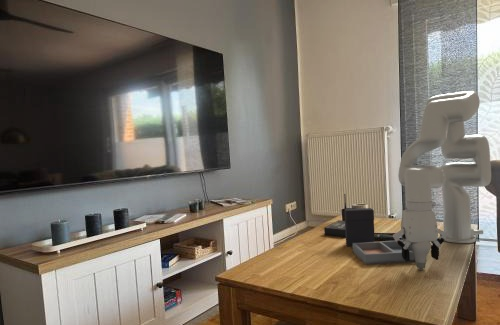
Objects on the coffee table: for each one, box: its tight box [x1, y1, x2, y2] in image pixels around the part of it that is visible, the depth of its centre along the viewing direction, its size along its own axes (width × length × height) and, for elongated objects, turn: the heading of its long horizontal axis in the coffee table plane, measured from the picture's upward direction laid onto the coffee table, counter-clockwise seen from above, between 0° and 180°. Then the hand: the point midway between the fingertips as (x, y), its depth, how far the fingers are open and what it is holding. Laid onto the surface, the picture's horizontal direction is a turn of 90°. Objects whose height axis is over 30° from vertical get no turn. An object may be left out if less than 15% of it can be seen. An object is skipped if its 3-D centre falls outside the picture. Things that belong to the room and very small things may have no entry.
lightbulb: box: [410, 240, 432, 271], centre depth 108 cm, size 6×6×11 cm
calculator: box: [343, 207, 376, 248], centre depth 137 cm, size 11×4×15 cm, turn 84°
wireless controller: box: [323, 193, 348, 239], centre depth 160 cm, size 20×14×17 cm
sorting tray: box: [352, 239, 416, 266], centre depth 122 cm, size 21×14×4 cm, turn 90°
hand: (420, 259), depth 108 cm, fingers open, 8 cm apart
